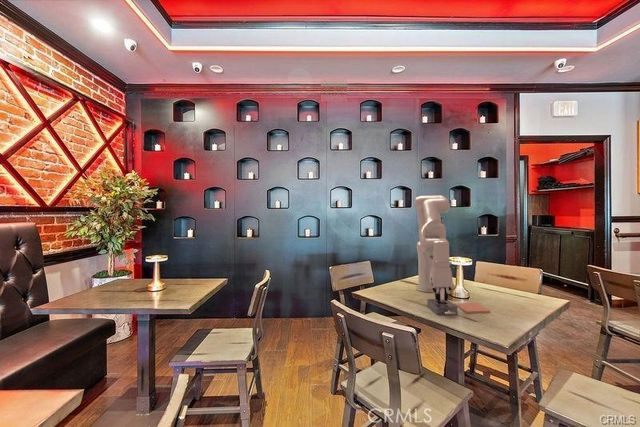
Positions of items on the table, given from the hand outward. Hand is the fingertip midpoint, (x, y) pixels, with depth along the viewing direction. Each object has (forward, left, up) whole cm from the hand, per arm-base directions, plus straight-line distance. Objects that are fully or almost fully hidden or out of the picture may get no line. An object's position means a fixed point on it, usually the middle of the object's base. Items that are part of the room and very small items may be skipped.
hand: (441, 300), depth 146 cm
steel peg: (0, 0, -5) cm, 5 cm away
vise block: (+2, 0, -5) cm, 6 cm away
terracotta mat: (-1, +16, -5) cm, 17 cm away
